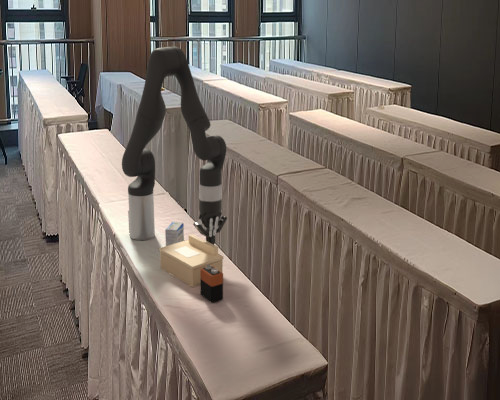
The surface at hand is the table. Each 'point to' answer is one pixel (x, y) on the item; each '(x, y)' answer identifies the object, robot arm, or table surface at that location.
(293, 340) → the table surface
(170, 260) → the box
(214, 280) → the battery
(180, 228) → the medicine box
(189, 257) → the lid
